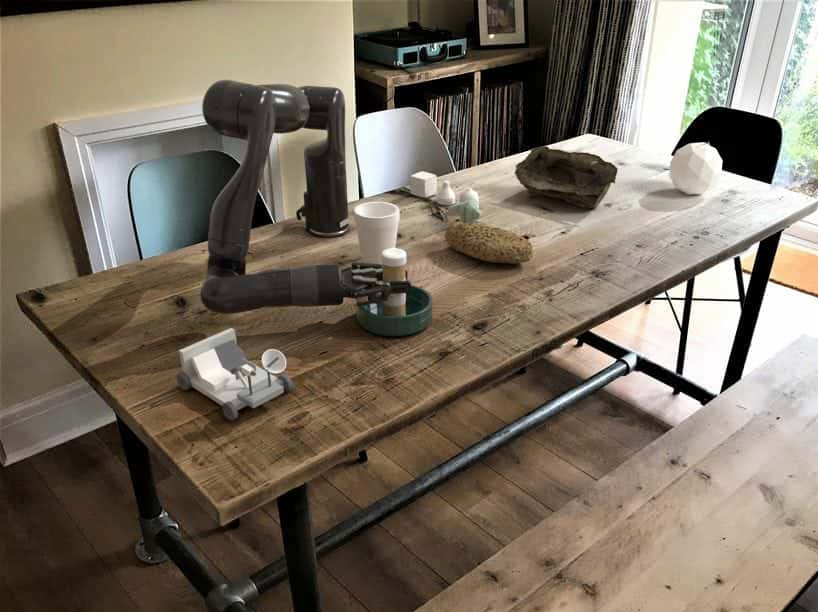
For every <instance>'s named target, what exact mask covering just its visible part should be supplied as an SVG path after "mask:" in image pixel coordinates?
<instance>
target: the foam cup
mask: <svg viewBox="0 0 818 612" xmlns="http://www.w3.org/2000/svg"><path fill="white" fill-rule="evenodd" d="M400 219H401V218H400V208H399V207H398V206H397V205H395V204H393V203H391V202H385V201H369V202H368V201H367V202H363V203H360V204H359V205H356V206H355V207H354V209H353V221H354V223H355V228H356V233H357V237H358V239H357V240H358V243H359V250H360V255H361V261H362V263H370V264H381V265H382V262H381V254H382V252H383V251H384V250H386V249H390V248H396V246H397V245H396V244H397V235H398V228H399V222H400ZM382 267H383V265H382Z"/></svg>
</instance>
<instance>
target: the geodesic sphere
mask: <svg viewBox="0 0 818 612" xmlns="http://www.w3.org/2000/svg"><path fill="white" fill-rule="evenodd" d="M710 144H711V143H710V141H708V142H692V143H691V142H690V143H688V144H686V145H684V146H682V147H680V148H679V149H676V150H675V153H674V154H673V157H672V158H671V160H670V162H669V178H670V180H671V182H672V183H673V185H674V187H675V189H678V190H679V191H681V192H682V193H684V194H685V195H703V194H705V193H706V192H708V191H711V190H712V189H714V188H715V187H716V186H717V183H718V182H719V179H720V178H721V176H722V168H723V159H722V157H721V156H720V154H719V152H718V150H717V148H715V147H714V146H711V145H710Z"/></svg>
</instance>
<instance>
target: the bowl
mask: <svg viewBox="0 0 818 612" xmlns="http://www.w3.org/2000/svg"><path fill="white" fill-rule="evenodd" d="M378 287H382V286H378ZM372 288H373V287H372ZM377 297H381V296H377ZM433 303H434V298H433V296H432V295H431V293H430V292H429V291H428V290H426V289H424V288H423V287H420V286H417V285H415V284H411V292H410V293H406V302H405V313H406V316H398V317H395V316H382V313H383V302H379V303H374V304H369V305H364V306H357V305H356V318H357V321H358V324H359V325H360V326H361V327H362V328H363V329H365V330H367V331H369V332H370V333H371V332H372V333H373V334H376V335H379V336H385V337H405V336H409V335H413V334H416V333H418V332H420V331H422V330H423V329H425V328H427V327H429V325H430V324H431V323H432V321H433V315H434V314H433V308H434V306H433V305H434V304H433Z"/></svg>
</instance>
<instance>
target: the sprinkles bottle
mask: <svg viewBox="0 0 818 612" xmlns="http://www.w3.org/2000/svg"><path fill="white" fill-rule="evenodd" d="M381 262H382V265H383V281H385V282H391V281H406V276H405V269H406V264H407V252H406V251H405V250H403V249H401V248H397V247H395V248H390V249H386V250H384V251H383V252H382V254H381ZM405 302H406V293H399V294H390V296H388V300H387V301H383V313H382V316H395V317H398V316H406V313H405Z"/></svg>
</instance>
